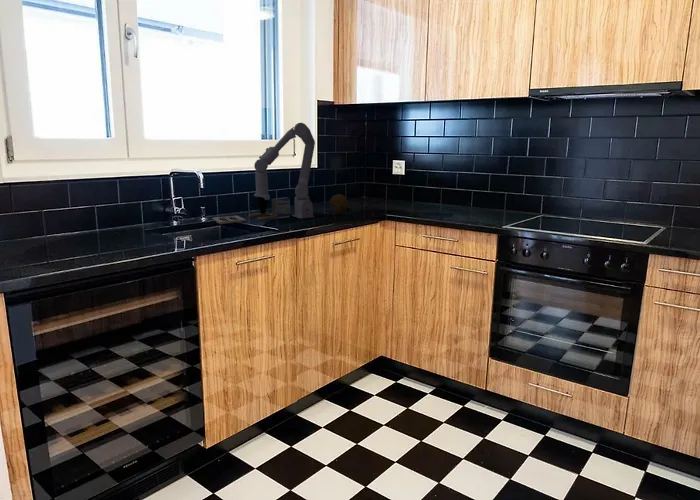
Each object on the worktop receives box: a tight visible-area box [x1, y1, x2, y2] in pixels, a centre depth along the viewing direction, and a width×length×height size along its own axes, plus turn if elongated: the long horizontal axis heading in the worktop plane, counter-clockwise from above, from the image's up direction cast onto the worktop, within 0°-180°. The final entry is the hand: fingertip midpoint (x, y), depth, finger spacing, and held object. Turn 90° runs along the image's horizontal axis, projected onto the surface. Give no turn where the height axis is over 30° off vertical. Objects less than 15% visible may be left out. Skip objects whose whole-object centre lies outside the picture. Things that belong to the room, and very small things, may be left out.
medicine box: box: [271, 197, 291, 217], centre depth 243 cm, size 8×4×9 cm, turn 128°
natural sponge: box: [329, 193, 350, 215], centre depth 247 cm, size 9×9×10 cm
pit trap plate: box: [211, 215, 247, 225], centre depth 231 cm, size 13×12×1 cm
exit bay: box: [268, 213, 291, 219], centre depth 244 cm, size 13×6×1 cm, turn 31°
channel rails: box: [248, 211, 279, 221], centre depth 239 cm, size 13×10×1 cm
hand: (262, 213), depth 239 cm, fingers closed
